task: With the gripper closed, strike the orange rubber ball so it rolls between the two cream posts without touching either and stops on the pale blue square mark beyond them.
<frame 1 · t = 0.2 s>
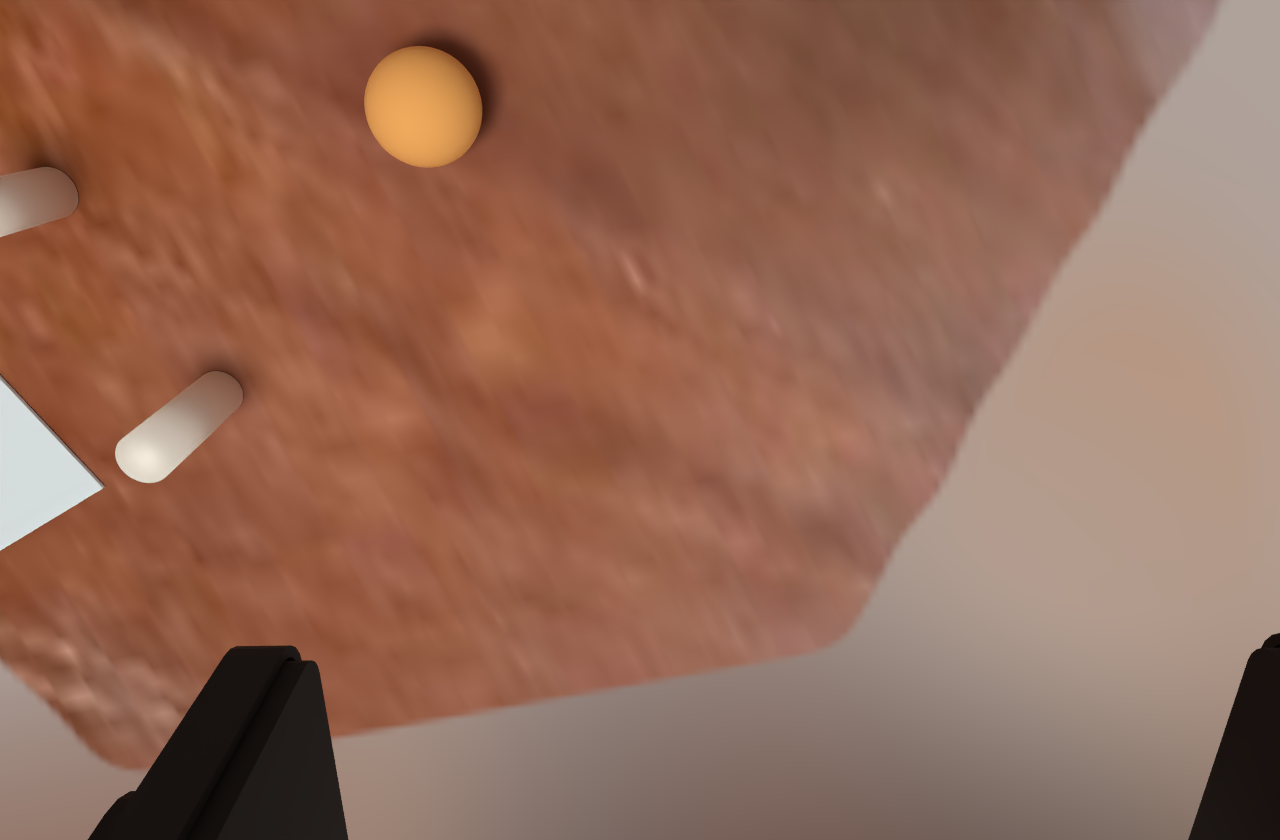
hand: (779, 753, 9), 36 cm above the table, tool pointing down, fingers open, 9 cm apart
ball: (424, 108, 38), on the table
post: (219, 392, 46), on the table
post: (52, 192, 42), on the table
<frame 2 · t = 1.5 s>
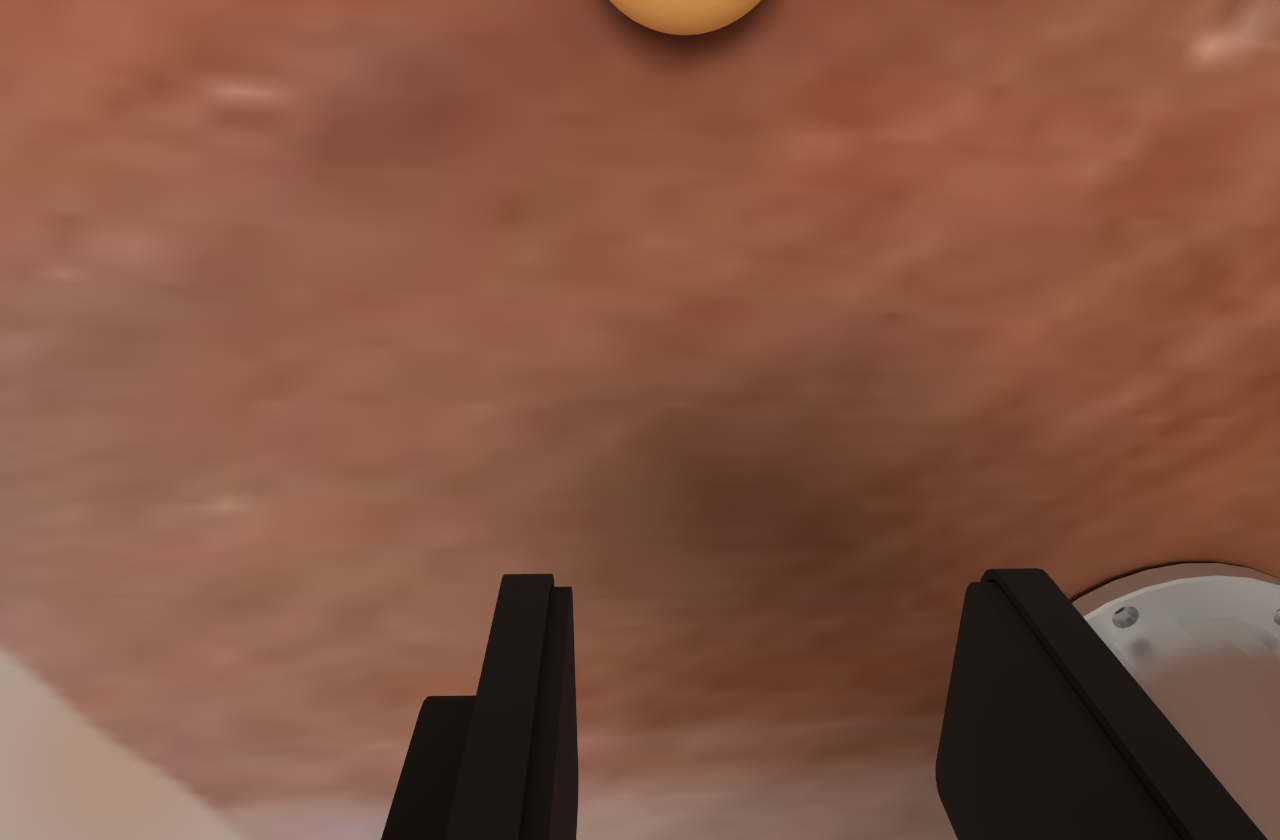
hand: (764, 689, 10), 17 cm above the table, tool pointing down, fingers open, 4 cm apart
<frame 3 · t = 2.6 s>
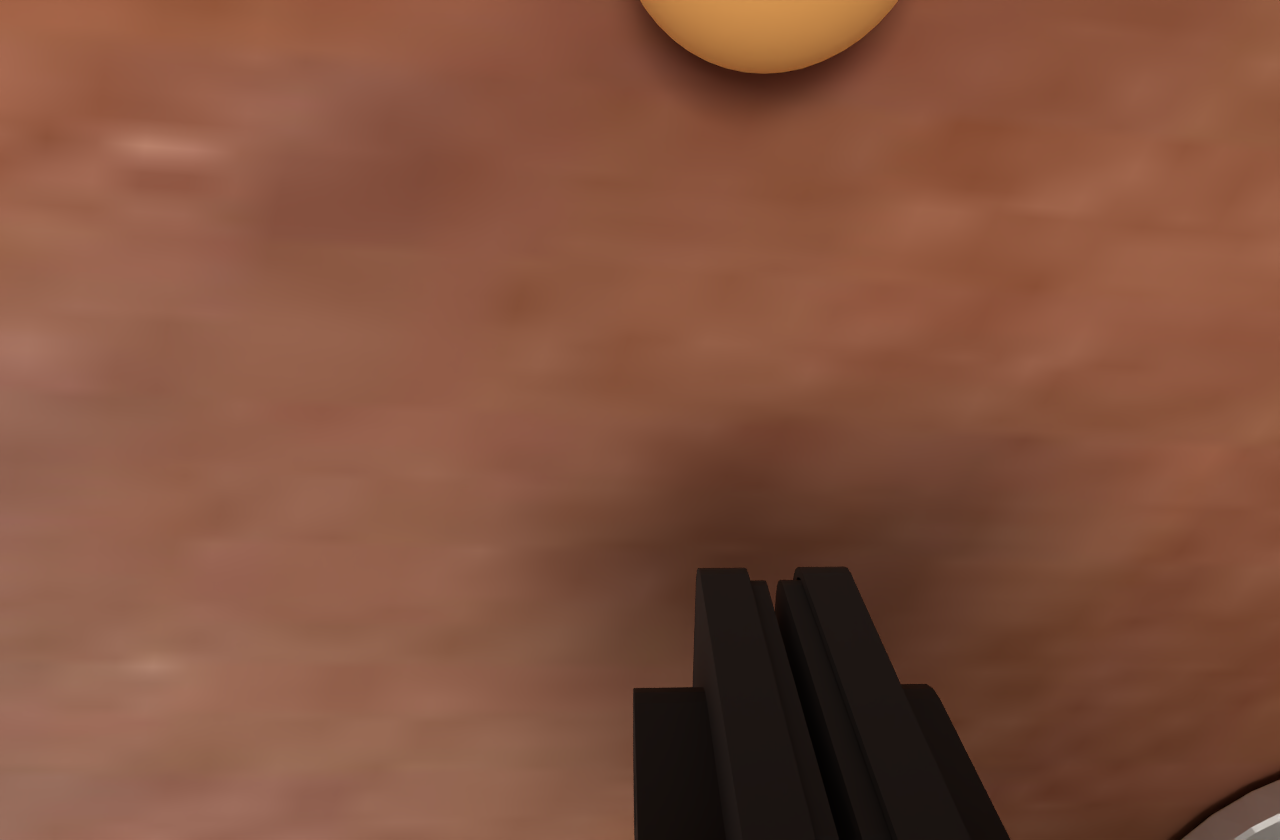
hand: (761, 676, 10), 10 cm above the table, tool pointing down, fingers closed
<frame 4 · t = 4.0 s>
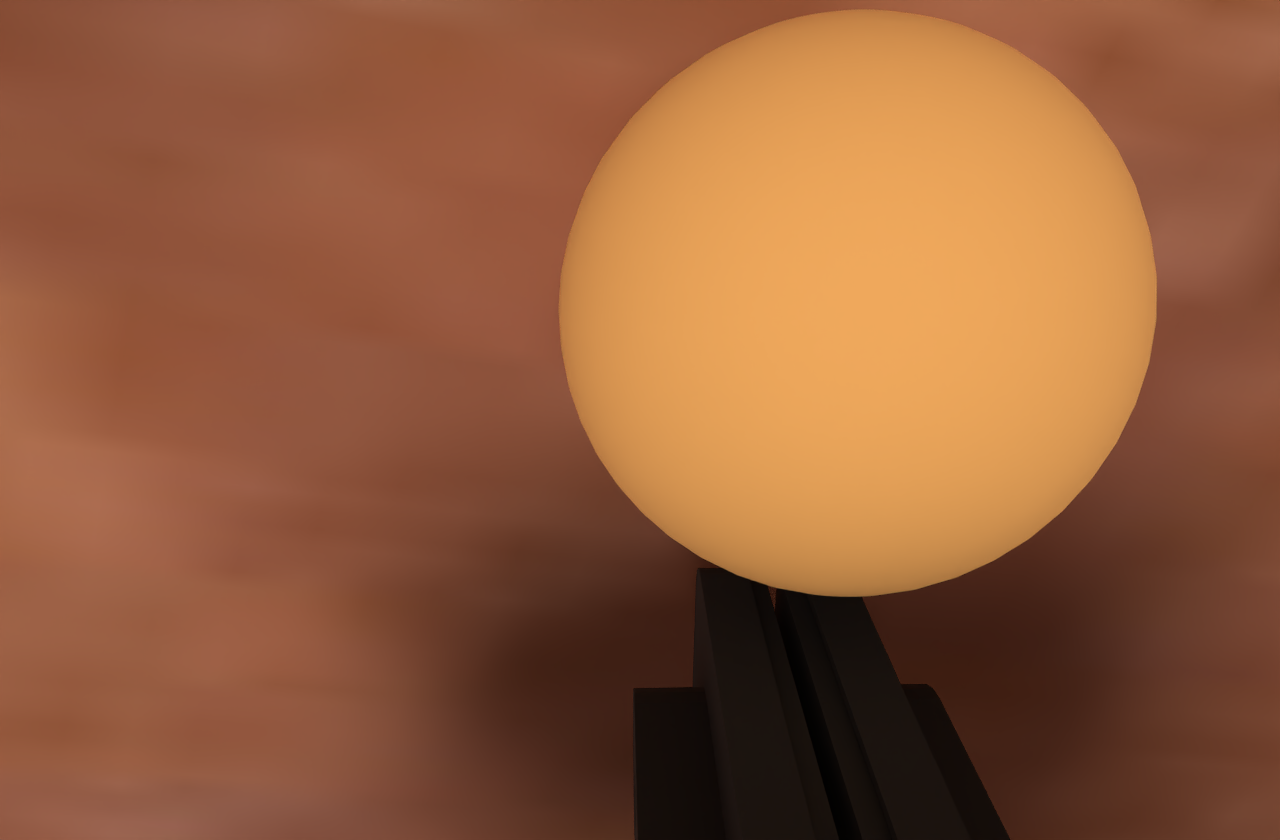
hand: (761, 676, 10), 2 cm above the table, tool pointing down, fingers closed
ball: (836, 314, 8), on the table
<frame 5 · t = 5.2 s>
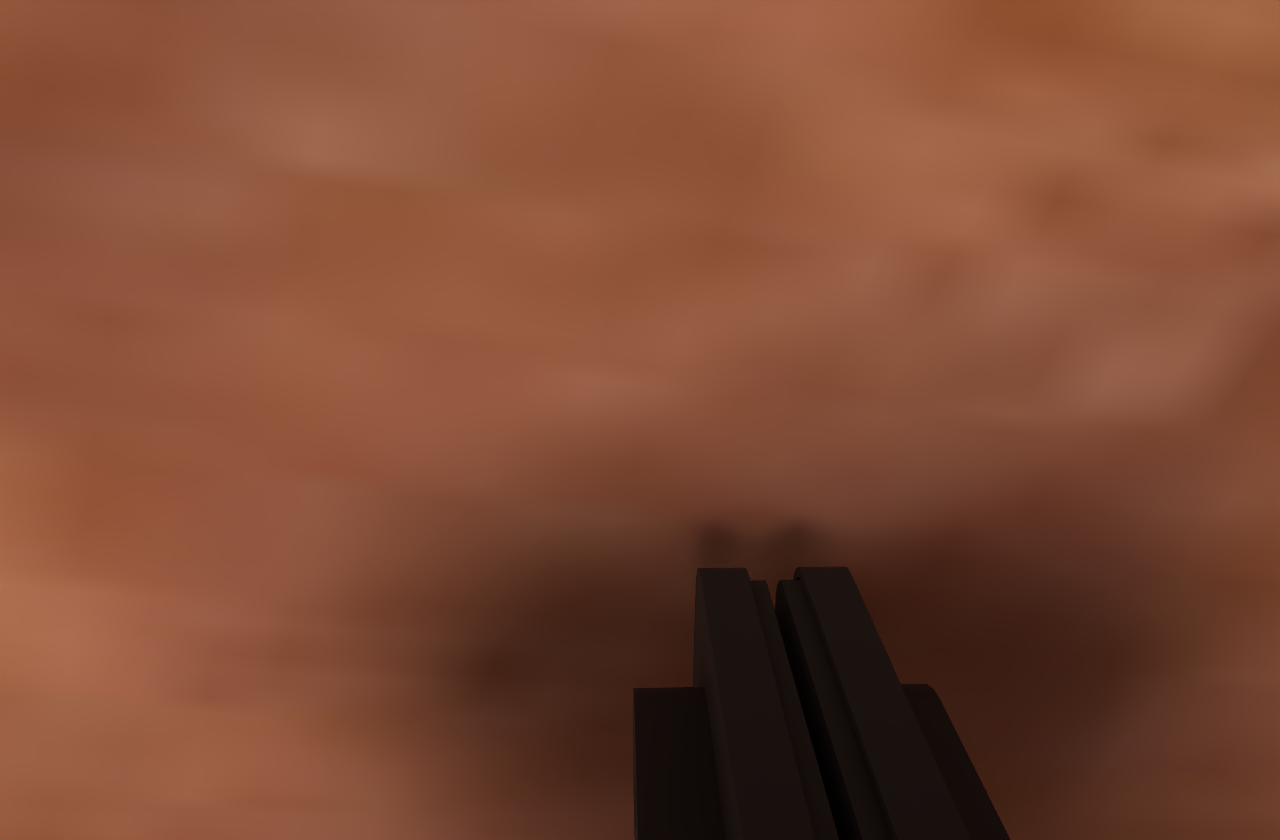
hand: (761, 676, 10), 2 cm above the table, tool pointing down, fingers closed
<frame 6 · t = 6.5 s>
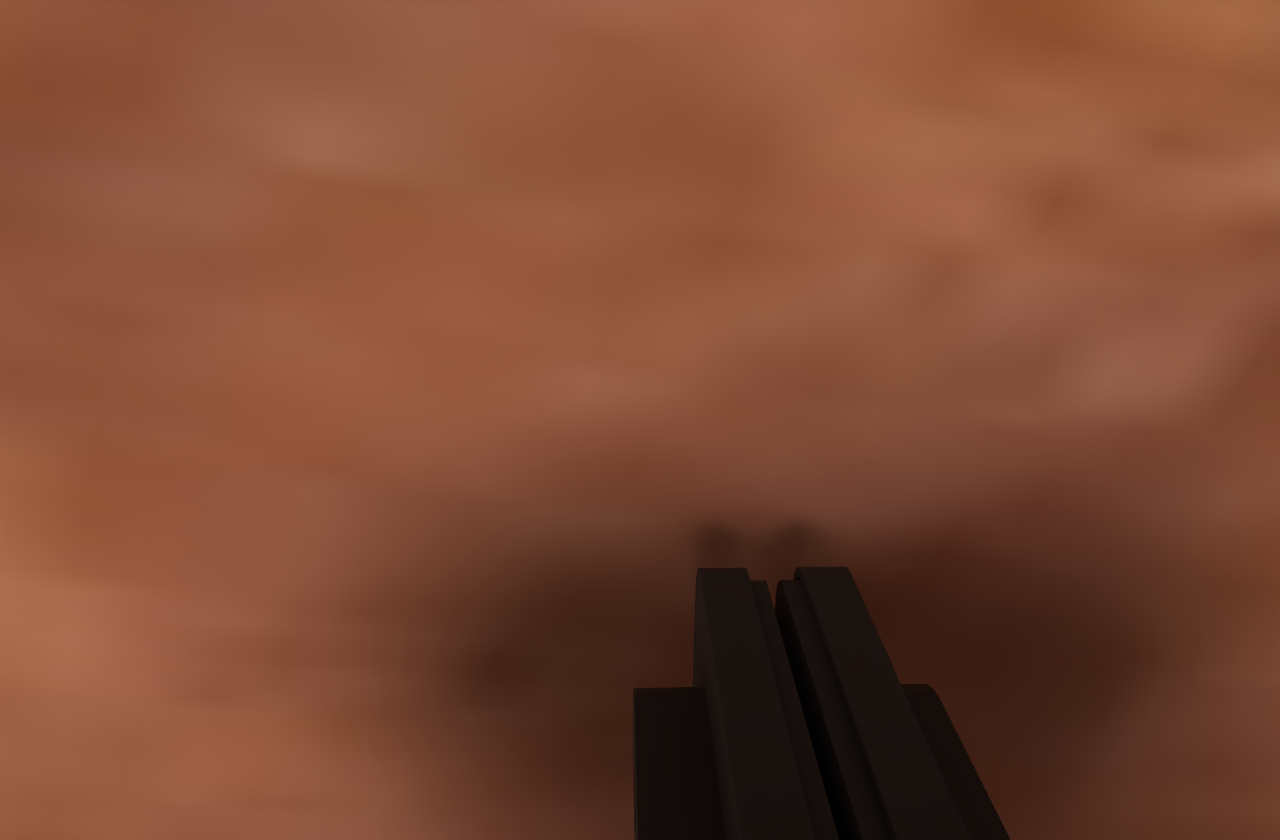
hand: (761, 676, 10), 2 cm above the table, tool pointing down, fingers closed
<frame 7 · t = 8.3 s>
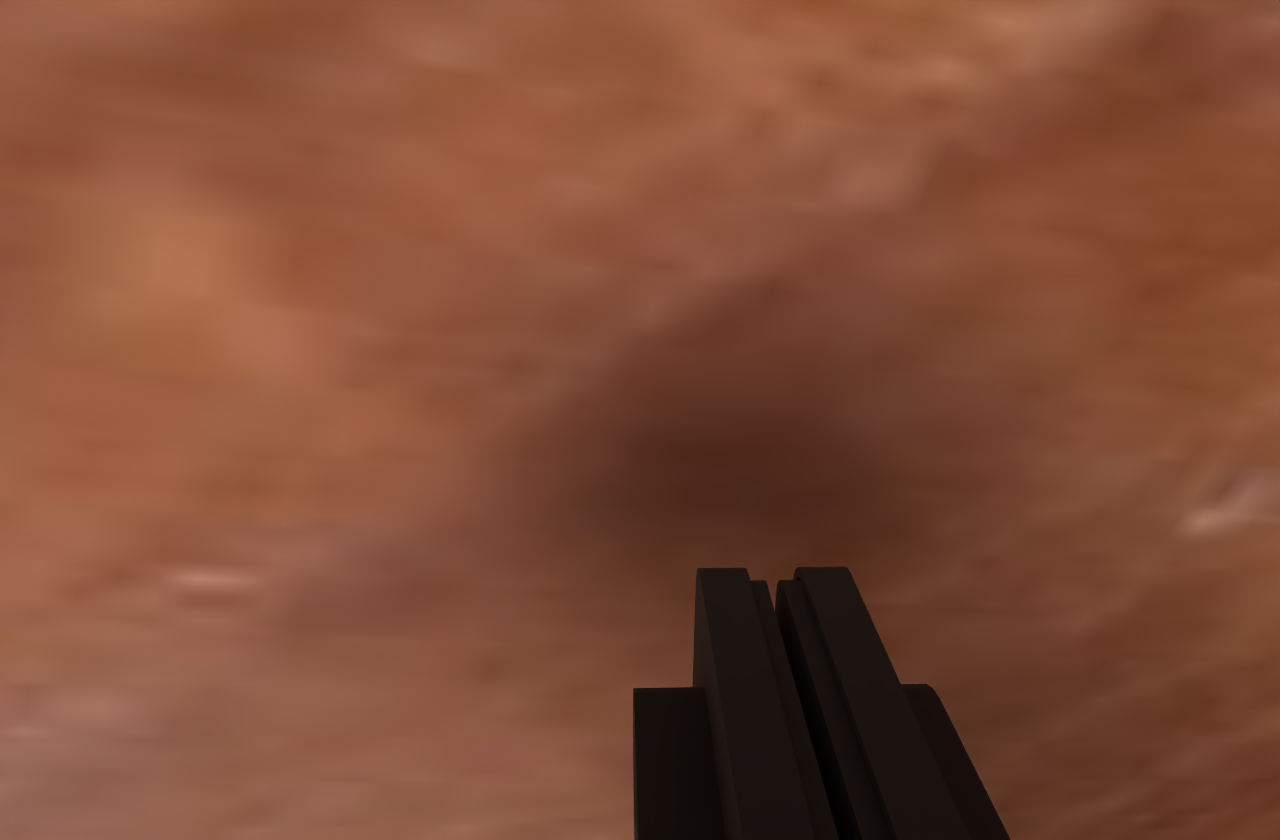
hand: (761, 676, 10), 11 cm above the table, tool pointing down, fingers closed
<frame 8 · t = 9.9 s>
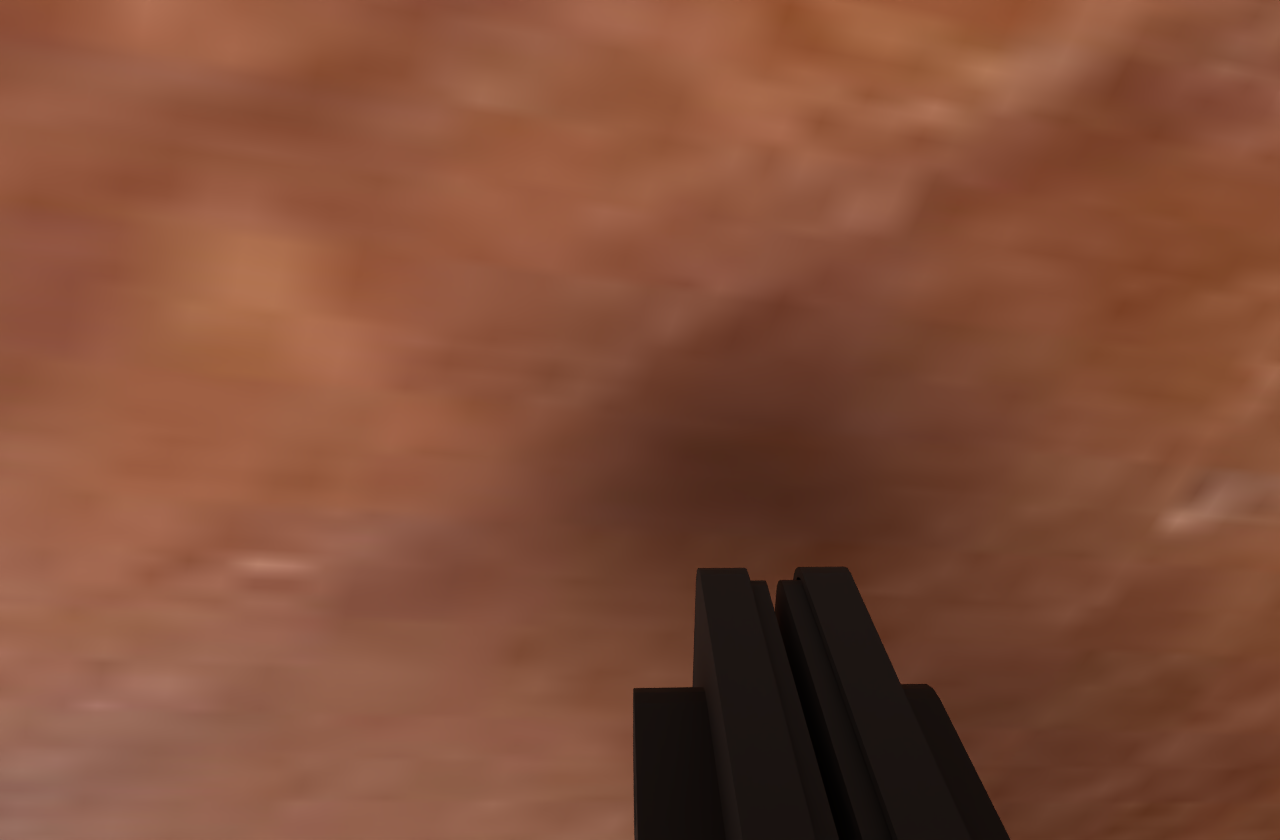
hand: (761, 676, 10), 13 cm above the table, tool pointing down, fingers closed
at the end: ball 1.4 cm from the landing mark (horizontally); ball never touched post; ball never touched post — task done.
